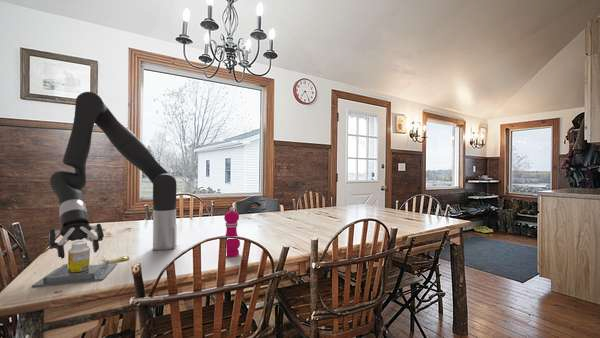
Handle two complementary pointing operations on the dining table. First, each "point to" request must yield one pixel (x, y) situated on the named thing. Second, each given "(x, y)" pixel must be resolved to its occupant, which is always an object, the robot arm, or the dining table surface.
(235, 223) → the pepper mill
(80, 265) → the supplement bottle
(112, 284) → the dining table surface
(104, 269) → the dark grey tray
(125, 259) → the brass lever handle
